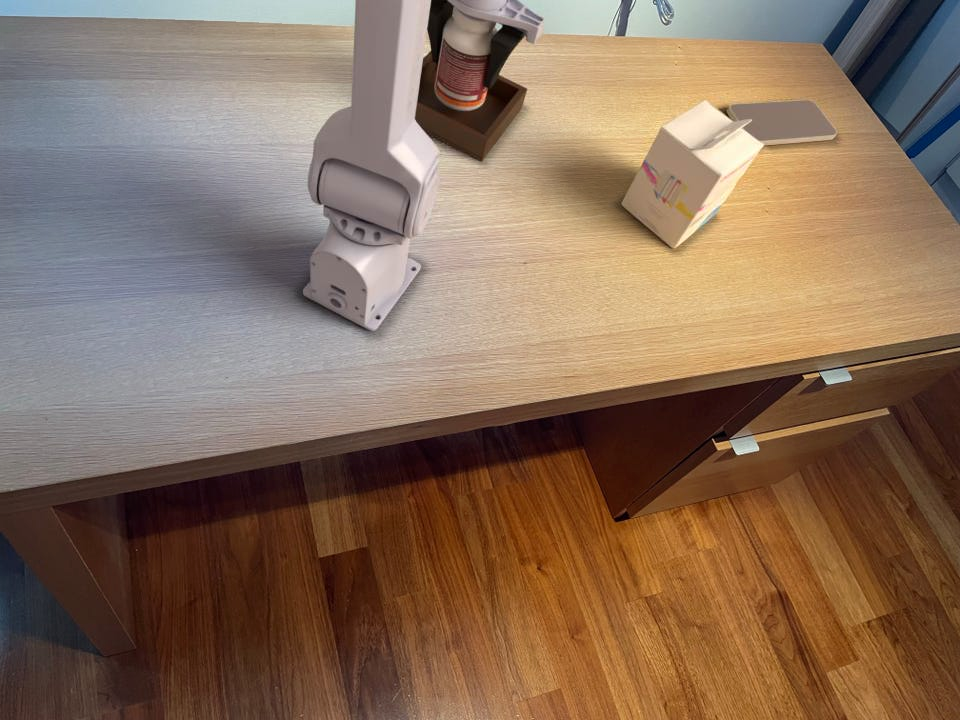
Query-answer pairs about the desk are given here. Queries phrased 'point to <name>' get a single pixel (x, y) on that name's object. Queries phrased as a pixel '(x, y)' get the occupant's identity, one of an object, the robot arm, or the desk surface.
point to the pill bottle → (464, 61)
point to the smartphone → (783, 121)
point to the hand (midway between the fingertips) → (464, 70)
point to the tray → (467, 114)
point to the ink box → (690, 172)
